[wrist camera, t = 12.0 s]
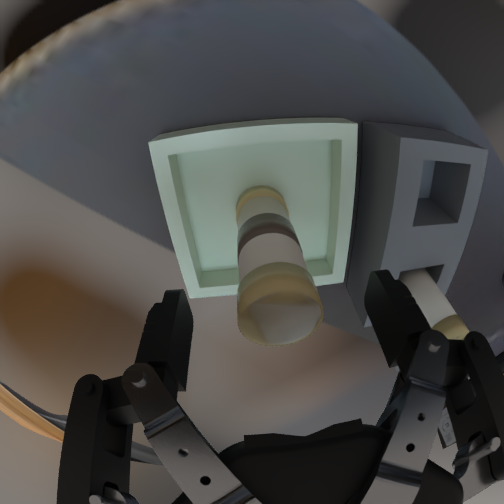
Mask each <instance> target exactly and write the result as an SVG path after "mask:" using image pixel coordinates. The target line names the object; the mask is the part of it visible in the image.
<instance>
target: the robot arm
mask: <svg viewBox="0 0 504 504" xmlns="http://www.w3.org/2000/svg"><path fill="white" fill-rule="evenodd" d="M503 285H504V277H503ZM364 306H365V310H366V312H367V314H368V317H369V319H370V321H371V324H372V326H373V328H374V331H375V333H376V335H377V338H378V340H379V343H380V345H381V348H382V350H383V353H384V355H385V358H386V361H387V363H388V366H389V368H391V367H395V366H398V367H399V370H400V371H399V372H398V375H397V377H396V381H395V383H394V386H393V389H392V392H391V394H390V397H389V399H388V402H387V404H386V407H385V409H384V411H383V413H382V414H381V416H380V418H379V420H378V421H377V423H376V425H375V426H373V425H367V424H362V421H361V419H357V420H352V421H348V422H343V423H338V424H334V425H332V426H330V427H327V428H325V429H323V430H320V431H318V432H315V433H313V434H310V435H308V436H293V435H284V434H275V433H271V434H258V435H244V441H242V442H238V443H236V444H233V445H231V446H230V447H227V448H226V449H224V450H223V451H222V452H220V453H218V452H217V451H216V450H215V449H214V448H213V446H212V445H211V444H210V443H209V442H208V440H207V439H206V438H205V437H204V436H203V435H202V433H201V432H200V431H199V430H198V428H197V427H196V426H195V425H194V423H193V422H192V421H191V419H190V418H189V417H188V415H187V414H186V413H185V411H184V410H183V409H182V407H181V406H180V404H179V403H178V402H177V392H178V391H186V383H187V375H188V366H189V357H190V349H191V341H192V333H193V315H192V312H191V309H190V306H189V303H188V300H187V297H186V294H185V291H184V290H183V289H181V290H180V289H179V290H166V291H165V293H164V298H163V301H162V303H155V304H154V306H153V307H152V308H151V310H150V311H149V312H148V316H147V319H146V324H145V326H144V332H143V333H142V337H141V341H140V344H139V348H138V352H137V356H136V360H135V363H134V364H133V365H131V366H129V367H128V368H127V369H126V370H125V371H124V373H123V375H122V376H119V377H115V378H111V379H107V380H103V381H102V380H101V379H100V378H99V377H98V376H97V375H94V374H88V375H85V376H83V377H81V378H80V379H79V380H78V382H77V383H76V385H75V388H74V392H73V396H72V400H71V404H70V409H69V413H68V418H67V423H66V428H65V433H64V439H63V445H62V452H61V459H60V467H59V477H58V490H57V504H139V502H138V501H137V499H136V498H135V497H134V496H132V495H131V494H129V480H130V479H129V478H130V459H131V444H132V432H133V423H137V422H142V424H143V426H144V428H145V430H144V433H145V436H146V438H147V440H148V441H149V443H150V444H151V446H152V448H153V449H154V451H155V452H156V454H157V455H158V457H159V458H160V460H161V461H162V463H163V464H164V466H165V467H166V469H167V470H168V471H169V473H170V474H171V476H172V477H173V478H174V480H175V481H176V482H177V484H178V485H179V486H180V488H181V489H182V490H183V492H182V494H181V495H180V496H179V497H178V498H177V499H176V500H175V501H174V502H173V503H172V504H463V502H464V501H466V500H468V499H470V498H471V497H473V496H475V495H476V494H478V493H479V492H481V491H483V490H484V489H486V488H487V487H489V486H490V485H491V484H494V483H496V482H499V481H501V480H504V375H503V372H502V370H501V368H500V366H499V363H498V361H497V359H496V357H495V355H494V353H493V351H492V349H491V347H490V345H489V343H488V341H487V339H486V338H485V337H484V336H483V335H482V334H481V333H479V332H476V331H471V332H469V333H467V335H466V336H465V337H464V339H463V340H457V339H447V338H446V336H445V335H444V334H443V333H442V332H440V331H438V330H434V329H432V328H431V326H430V325H429V323H428V321H427V319H426V317H425V316H424V314H423V312H422V310H421V309H420V307H419V305H418V304H417V303H416V300H415V299H414V297H412V294H411V292H410V290H409V289H408V287H407V286H406V285H405V284H404V283H402V282H401V281H400V280H399V279H397V280H395V279H394V278H393V276H392V274H391V273H390V271H389V270H387V269H385V270H377V271H372V272H371V273H370V275H369V279H368V284H367V288H366V292H365V296H364ZM468 376H469V377H470V379H471V382H472V384H473V387H474V390H475V392H476V399H475V397H474V394H473V391H472V388H471V386H470V383H469V381H468V378H467V377H468ZM444 404H446V407H447V411H448V414H449V417H450V421H451V424H452V428H453V431H454V435H455V439H456V443H457V447H458V452H457V454H456V456H455V459H454V461H453V463H452V467H453V469H454V473H453V474H451V473H449V472H448V471H446V470H445V469H443V468H442V467H440V466H438V465H437V464H435V463H434V462H432V461H431V460H429V459H428V457H429V454H430V451H431V448H432V445H433V442H434V439H435V436H436V433H437V430H438V426H439V423H440V419H441V415H442V412H443V408H444Z"/></svg>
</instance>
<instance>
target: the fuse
mask: <svg viewBox="0 0 504 504" xmlns="http://www.w3.org/2000/svg"><path fill="white" fill-rule="evenodd" d="M398 279H399V280H400V281H401V282H402V283H404V284H405V285H406V286H407V287H408V289H409V290H410V292H411V294H412V297H414V299H415V300H416V303H417V304H418V305H419V307H420V309H421V310H422V312H423V314H424V316H425V317H426V319H427V321H428V323H429V325H430V326H431V328H432V329H434V330H438V331H440V332H442V333H443V334H444V335H445V336H446V338H447V339H457V340H463V339H464V337H465V336H466V335H467V333H469V330H468V329H467V327H466V325H465V324H464V322H463V320H462V319H461V317H460V316H459V315H457V314H456V312H455V311H454V309H453V308H452V306H451V304H450V303H449V301H448V300H447V299H446V297H445V296H444V294H443V293H442V291H441V290H440V288H439V287H438V286H437V284H436V283H435V281H434V280H433V279H432V277H431V276H430V275H429V273H428V272H427V271H426V269H425V268H419V269H413V270H407V271H401V272H400V275H399V278H398Z"/></svg>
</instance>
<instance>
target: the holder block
mask: <svg viewBox="0 0 504 504" xmlns="http://www.w3.org/2000/svg"><path fill="white" fill-rule="evenodd" d="M487 157H488V150H487V149H485V148H483V147H481V146H479V145H477V144H475V143H473V142H471V141H469V140H467V139H464V138H462V137H460V136H457V135H455V134H453V133H450V132H448V131H444V130H438V129H432V128H426V127H418V126H410V125H402V124H391V123H380V122H364V121H363V132H362V158H361V174H360V188H359V199H358V209H357V218H356V227H355V234H354V242H353V249H352V256H351V262H350V268H349V274H348V280H347V286H346V287H347V289H348V292H349V294H350V296H351V298H352V301H353V303H354V305H355V308H356V310H357V312H358V315H359V317H360V320H361V322H362V325H363V327H368V326H372V324H371V321H370V319H369V317H368V314H367V312H366V310H365V306H364V296H365V292H366V288H367V284H368V279H369V275H370V273H371V272H372V271H377V270H385V269H387V270H389V271H390V273H391V274H392V276H393V278H394V279H395V280H397V279H398V278H399V275H400V272H401V271H407V270H413V269H419V268H425V269H426V271H427V272H428V273H429V275H430V276H431V277H432V279H433V280H434V281H435V283H436V284H437V286H438V287H439V288H440V290H441V291H442V293H443V294H444V296H445V294H446V292H447V290H448V288H449V285H450V283H451V281H452V278H453V276H454V274H455V271H456V269H457V266H458V264H459V261H460V258H461V256H462V253H463V250H464V247H465V244H466V242H467V239H468V236H469V232H470V229H471V226H472V223H473V219H474V216H475V212H476V209H477V205H478V201H479V197H480V193H481V188H482V184H483V179H484V174H485V169H486V163H487Z"/></svg>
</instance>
